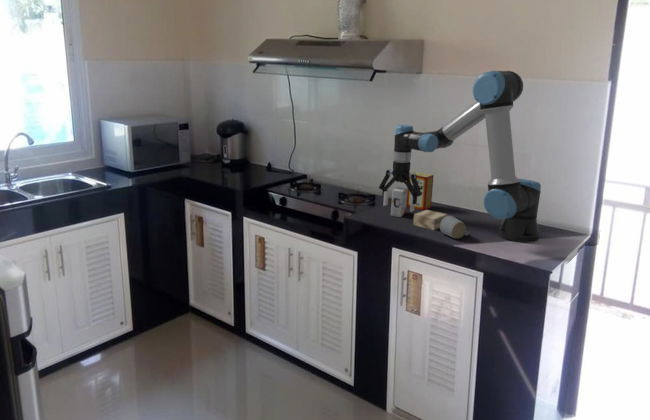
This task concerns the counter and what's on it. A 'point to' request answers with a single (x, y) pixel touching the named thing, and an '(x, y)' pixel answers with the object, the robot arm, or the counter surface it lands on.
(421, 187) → the baking soda box
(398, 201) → the ink box
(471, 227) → the counter surface
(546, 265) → the counter surface
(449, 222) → the ceramic mug
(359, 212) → the counter surface
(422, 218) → the maple block
